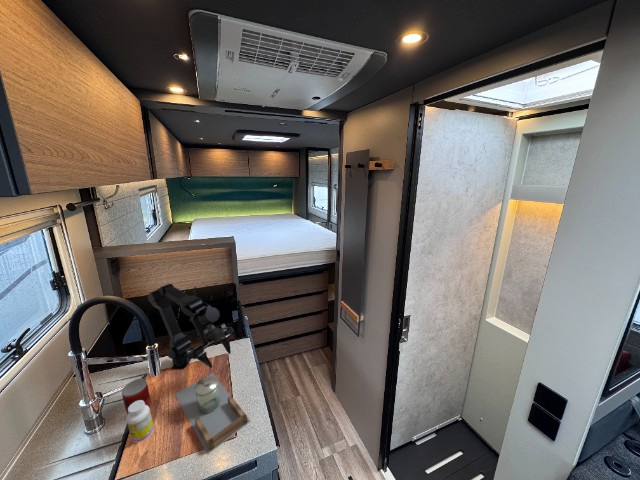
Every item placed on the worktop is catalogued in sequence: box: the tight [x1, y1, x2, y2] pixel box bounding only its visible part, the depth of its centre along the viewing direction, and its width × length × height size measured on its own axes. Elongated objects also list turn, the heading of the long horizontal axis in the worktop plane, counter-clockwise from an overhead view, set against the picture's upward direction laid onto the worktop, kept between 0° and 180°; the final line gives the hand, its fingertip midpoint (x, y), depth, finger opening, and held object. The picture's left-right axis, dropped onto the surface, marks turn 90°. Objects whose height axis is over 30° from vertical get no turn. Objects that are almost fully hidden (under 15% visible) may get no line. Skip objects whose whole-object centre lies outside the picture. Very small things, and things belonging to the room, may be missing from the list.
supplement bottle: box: [125, 400, 155, 444], centre depth 88 cm, size 7×7×13 cm
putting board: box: [174, 372, 252, 455], centre depth 99 cm, size 34×16×1 cm, turn 46°
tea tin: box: [195, 375, 220, 414], centre depth 99 cm, size 8×8×10 cm
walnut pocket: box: [195, 395, 248, 451], centre depth 92 cm, size 12×14×3 cm
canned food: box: [121, 378, 152, 416], centre depth 98 cm, size 8×8×11 cm
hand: (221, 360), depth 104 cm, fingers open, 9 cm apart
